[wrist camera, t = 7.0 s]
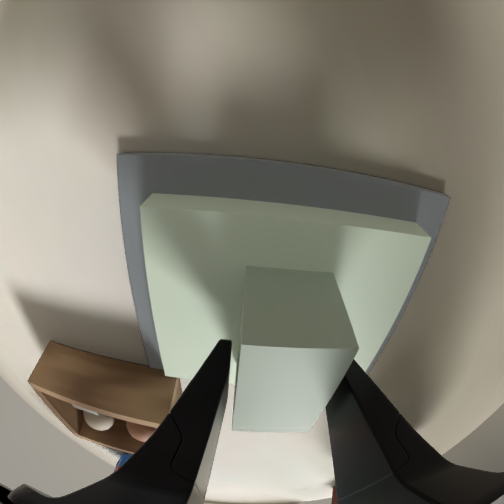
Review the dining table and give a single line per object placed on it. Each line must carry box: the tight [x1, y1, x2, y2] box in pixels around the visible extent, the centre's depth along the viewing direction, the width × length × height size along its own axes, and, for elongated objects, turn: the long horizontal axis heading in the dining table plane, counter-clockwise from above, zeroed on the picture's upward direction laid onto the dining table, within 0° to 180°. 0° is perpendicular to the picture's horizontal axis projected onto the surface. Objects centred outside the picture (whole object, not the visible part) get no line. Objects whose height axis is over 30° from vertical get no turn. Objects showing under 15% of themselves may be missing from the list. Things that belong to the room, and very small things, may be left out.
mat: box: [117, 152, 450, 375], centre depth 11 cm, size 12×11×1 cm
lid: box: [140, 193, 431, 432], centre depth 9 cm, size 9×8×4 cm
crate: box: [28, 341, 182, 454], centre depth 15 cm, size 9×8×4 cm
